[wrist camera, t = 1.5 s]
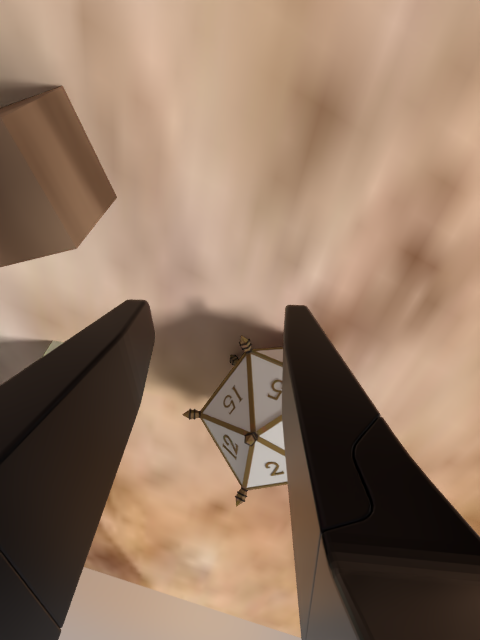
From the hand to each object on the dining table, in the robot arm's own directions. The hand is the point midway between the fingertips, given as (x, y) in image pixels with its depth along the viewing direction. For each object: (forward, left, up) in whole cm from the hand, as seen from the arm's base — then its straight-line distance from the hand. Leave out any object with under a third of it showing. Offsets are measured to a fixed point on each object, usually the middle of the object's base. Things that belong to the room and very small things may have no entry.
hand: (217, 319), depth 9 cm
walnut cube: (+10, +1, -13) cm, 16 cm away
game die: (-1, +13, -13) cm, 18 cm away
